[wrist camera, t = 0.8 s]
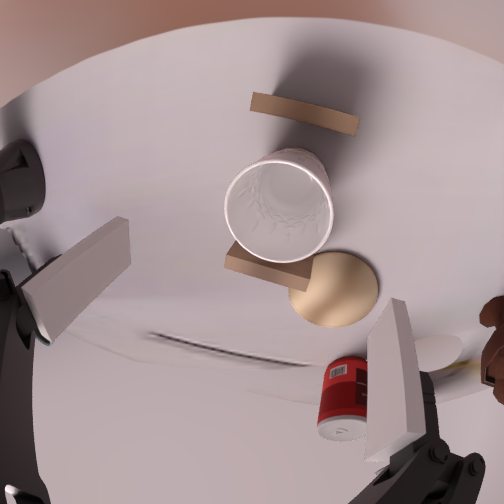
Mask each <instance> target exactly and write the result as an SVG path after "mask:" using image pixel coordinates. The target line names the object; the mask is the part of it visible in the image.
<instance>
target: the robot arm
mask: <svg viewBox="0 0 504 504" xmlns="http://www.w3.org/2000/svg"><path fill="white" fill-rule="evenodd" d="M44 198H45V182H44V175H43V170H42V166H41V163H40V160H39V157H38V155H37V153H36V151H35V149H34V148H33V146H32V145H31V144H30V143H29V142H28V141H26V140H24V139H19V140H16V141H13V142H11V143H9V144H8V145H7V146H5V147H4V148H3V149H2V150H1V151H0V224H2V223H3V222H6V221H11V220H17V219H22V218H28V217H30V216H32V215H34V214H36V213H37V212H39V211H40V210H41V208H42V206H43V203H44ZM130 265H131V254H130V240H129V221H128V219H125V218H122V217H118V216H117V217H115V218H114V219H112V220H111V221H109V222H108V223H106V224H105V225H103V226H102V227H100V228H99V229H97V230H96V231H94V232H93V233H92V234H90V235H89V236H87V237H86V238H84V239H83V240H82V241H80V242H79V243H77V244H76V245H75V246H73V247H72V248H71V249H69V250H68V251H67V252H65V253H64V254H61V255H58V256H56V257H54V258H52V259H50V260H49V261H48V262H46V263H45V264H44V266H43V265H42V266H41V267H40V268H39V269H38V270H36V271H35V272H34V273H32V274H31V275H30V276H29V277H28V278H26V279H25V280H24V281H23V282H21V283H20V284H19V285H18V286H16V287H15V285H14V282H13V279H12V277H11V274H10V272H9V271H8V270H3V269H2V270H0V504H7V501H6V497H5V491H6V492H8V493H10V494H12V495H13V497H14V498H15V500H16V503H17V504H51V502H50V498H49V494H48V491H47V488H46V486H45V484H44V483H43V481H42V480H41V478H40V476H39V473H38V467H37V461H36V452H35V443H34V432H33V416H32V415H33V414H32V376H33V357H34V346H35V331H34V329H35V328H36V327H37V326H38V328H39V331H40V333H41V335H42V336H43V337H45V338H46V339H47V340H49V341H50V342H52V343H53V342H54V340H55V339H56V338H57V337H58V336H59V335H60V334H61V333H62V332H63V331H64V330H65V329H66V328H67V327H68V326H69V324H70V323H71V322H72V321H73V320H74V319H75V318H76V317H77V316H78V315H79V314H80V313H81V312H82V311H83V310H84V309H85V308H86V307H87V306H88V305H89V304H90V303H91V302H92V301H93V300H94V299H95V298H96V297H97V296H98V295H99V294H100V293H101V292H102V291H103V290H104V289H105V288H106V287H107V286H108V285H109V284H110V283H111V282H112V281H114V280H115V279H116V278H117V277H118V276H119V275H120V274H121V273H122V272H123V271H124V270H125V269H126V268H127V267H128V266H130ZM367 362H368V398H367V426H366V442H365V454H364V461H373V462H382V461H384V460H386V459H387V458H389V457H390V464H389V465H388V466H386V467H384V468H382V469H380V470H379V471H377V472H376V473H375V474H379V473H380V474H379V475H378V476H377V477H376V478H375V479H374V480H373V481H372V482H371V483H370V484H369V485H368V486H367V487H366V488H365V489H364V490H363V491H362V492H360V493H359V495H357V496H356V497H355V498H354V499H353V500H352V501H351V502H350V503H348V504H475V503H476V500H477V497H478V494H479V491H480V488H481V485H482V481H483V477H484V474H485V461H484V459H483V457H482V456H481V455H480V454H478V453H471V454H469V455H468V456H466V457H461V456H458V455H456V454H453V453H451V452H450V449H449V446H448V445H447V443H445V441H444V440H442V439H440V436H439V426H438V417H437V408H436V405H435V403H436V400H435V396H434V387H433V382H432V380H431V378H430V376H429V375H428V373H427V372H422V371H419V367H418V361H417V355H416V350H415V345H414V339H413V335H412V330H411V325H410V321H409V316H408V312H407V308H406V304H405V301H401V300H398V299H394V298H391V299H390V300H389V302H388V304H387V306H386V307H385V309H384V311H383V313H382V314H381V316H380V318H379V319H378V321H377V323H376V324H375V326H374V327H373V329H372V331H371V332H370V334H369V335H368V337H367Z"/></svg>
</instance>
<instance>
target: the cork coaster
mask: <svg viewBox="0 0 504 504" xmlns="http://www.w3.org/2000/svg"><path fill="white" fill-rule="evenodd" d="M377 297H378V285H377V280H376V277H375V274H374V273H373V271H372V269H371V268H370V267H369V266H368V265H367V264H366V263H365V262H364V261H362V260H361V259H359V258H357V257H356V256H353V255H350V254H347V253H342V252H326V253H321V254H317V255H315V256H314V259H313V266H312V272H311V279H310V282H309V285H308V287H307V290H306V292H303V291H300V290H296V289H293V288H290V287H289V298H290V301H291V304H292V306H293V307H294V309H295V310H296V311H297V313H298V314H299V315H300V316H302V317H303V318H304V319H306V320H307V321H309V322H311V323H313V324H316V325H319V326H323V327H343V326H348V325H351V324H353V323H356V322H358V321H360V320H361V319H363V318H364V317H365V316H366V315H367V314H368V313H369V312H370V311H371V310H372V308H373V307H374V305H375V303H376V300H377Z"/></svg>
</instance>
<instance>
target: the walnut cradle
mask: <svg viewBox="0 0 504 504" xmlns="http://www.w3.org/2000/svg"><path fill="white" fill-rule="evenodd" d="M250 111H255V112H260V113H265V114H270V115H275V116H280V117H284V118H289V119H293V120H297V121H301V122H306V123H309V124H313V125H317V126H321V127H325V128H328V129H332V130H335V131H339V132H342V133H345V134H349V135H352V136H356V132H357V128H358V124H359V120H360V118H359V117H356V116H353V115H350V114H347V113H344V112H340V111H337V110H333V109H329V108H326V107H322V106H318V105H314V104H310V103H306V102H302V101H297V100H293V99H288V98H283V97H278V96H273V95H268V94H262V93H256V92H253V96H252V101H251V107H250ZM313 259H314V254H312V255H311V256H309V257H307V258H305V259H302V260H299V261H295V262H289V263H278V262H271V261H267V260H264V259H261V258H259V257H257V256H255V255H253V254H251V253H250V252H248V251H247V250H246V249H244V248H243V247H242V246H241V245H240V244H239V243H238V242H237V240H236V241H235V242H234V244H233V245H232V247H231V248H230V250H229V251H228V253H227V254H226V259H225V266H224V268H227V269H230V270H233V271H236V272H240V273H243V274H246V275H249V276H253V277H256V278H259V279H263V280H266V281H269V282H273V283H276V284H279V285H283V286H286V287H290V288H293V289H296V290H300V291H303V292H306V290H307V287H308V285H309V282H310V279H311V272H312V266H313Z"/></svg>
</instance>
